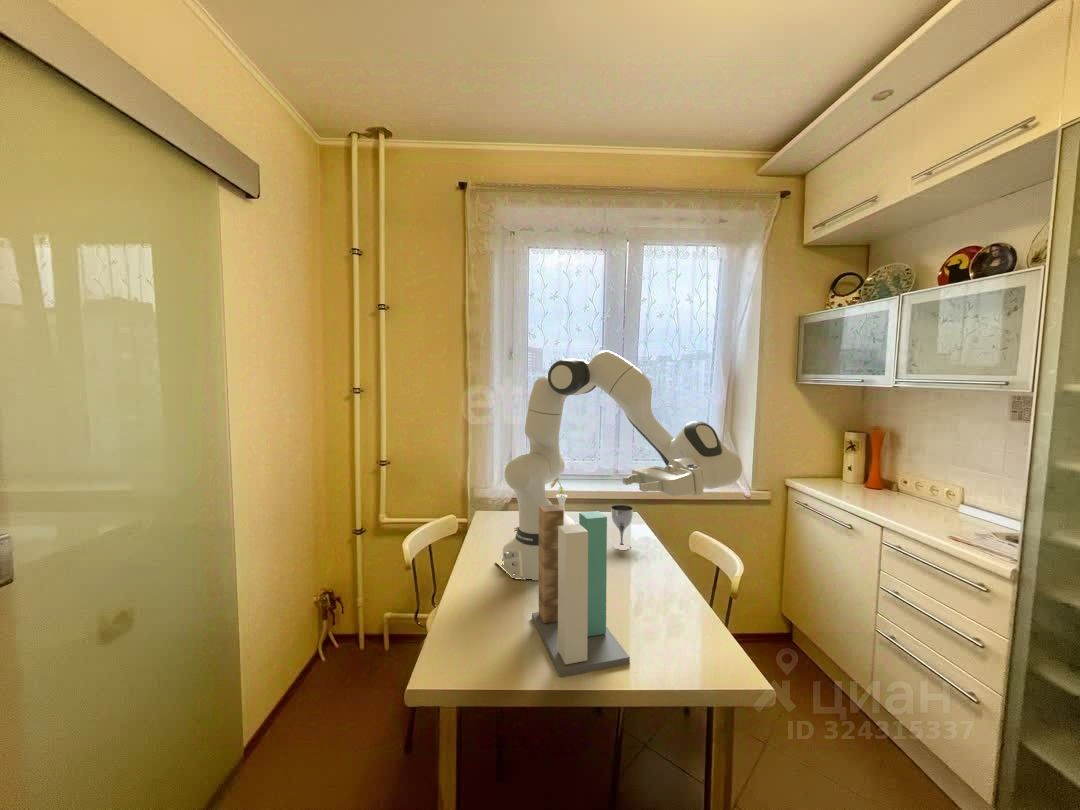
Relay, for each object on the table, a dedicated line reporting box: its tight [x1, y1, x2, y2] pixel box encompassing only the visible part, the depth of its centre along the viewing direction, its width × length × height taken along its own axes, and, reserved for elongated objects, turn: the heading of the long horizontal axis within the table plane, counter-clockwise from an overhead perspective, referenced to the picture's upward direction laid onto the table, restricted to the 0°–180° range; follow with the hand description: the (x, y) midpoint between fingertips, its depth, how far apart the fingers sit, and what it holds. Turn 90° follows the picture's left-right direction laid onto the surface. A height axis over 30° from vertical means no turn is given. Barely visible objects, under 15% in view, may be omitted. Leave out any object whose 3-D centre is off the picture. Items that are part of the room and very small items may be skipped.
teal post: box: [578, 510, 608, 637], centre depth 101 cm, size 5×5×28 cm
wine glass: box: [610, 504, 634, 545], centre depth 159 cm, size 8×8×15 cm
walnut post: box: [538, 504, 565, 623], centre depth 107 cm, size 5×5×28 cm
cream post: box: [558, 523, 588, 665], centre depth 91 cm, size 5×5×28 cm
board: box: [531, 611, 631, 678], centre depth 101 cm, size 16×23×2 cm
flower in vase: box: [550, 476, 576, 525], centre depth 179 cm, size 13×11×25 cm
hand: (631, 484), depth 104 cm, fingers open, 8 cm apart
